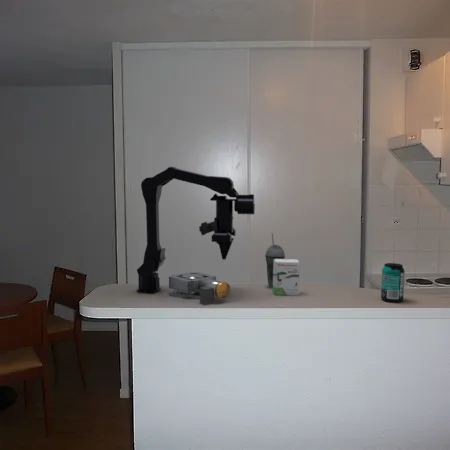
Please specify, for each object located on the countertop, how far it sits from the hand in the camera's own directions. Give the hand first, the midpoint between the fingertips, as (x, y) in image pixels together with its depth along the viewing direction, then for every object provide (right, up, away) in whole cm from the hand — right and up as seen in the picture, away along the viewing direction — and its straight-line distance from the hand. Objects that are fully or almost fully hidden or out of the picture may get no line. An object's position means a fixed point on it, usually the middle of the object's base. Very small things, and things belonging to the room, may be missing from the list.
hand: (224, 259), depth 172 cm
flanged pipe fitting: (-8, -11, -3) cm, 14 cm away
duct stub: (-11, -12, +1) cm, 16 cm away
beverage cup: (+19, -11, +12) cm, 24 cm away
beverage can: (+56, -13, -6) cm, 58 cm away
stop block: (-6, -13, -12) cm, 19 cm away
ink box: (+21, -12, +2) cm, 25 cm away
